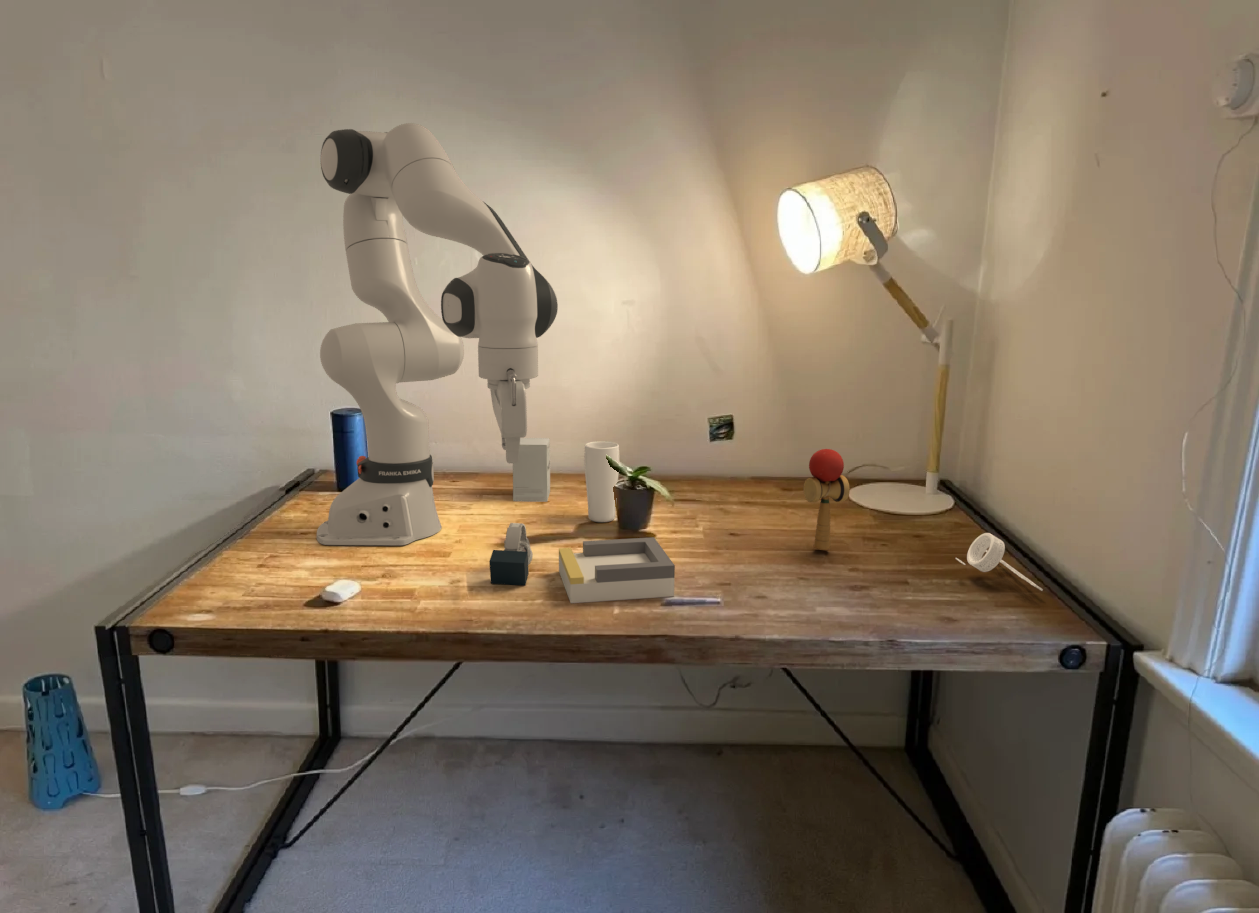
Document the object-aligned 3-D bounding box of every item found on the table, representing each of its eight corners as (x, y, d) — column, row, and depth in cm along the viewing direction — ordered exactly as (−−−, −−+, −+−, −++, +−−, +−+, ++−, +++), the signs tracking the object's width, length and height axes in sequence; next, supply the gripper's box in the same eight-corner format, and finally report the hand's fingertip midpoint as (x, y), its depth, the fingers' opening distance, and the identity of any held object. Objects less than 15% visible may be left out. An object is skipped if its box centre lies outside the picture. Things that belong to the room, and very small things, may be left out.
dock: (570, 603, 137) (570, 571, 136) (558, 571, 151) (558, 542, 150) (674, 596, 141) (674, 565, 139) (653, 565, 154) (654, 537, 153)
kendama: (839, 541, 168) (845, 445, 164) (848, 552, 161) (855, 453, 157) (797, 541, 167) (802, 445, 163) (805, 553, 161) (810, 453, 157)
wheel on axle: (937, 543, 160) (959, 512, 159) (982, 571, 161) (1004, 541, 160) (981, 579, 142) (1006, 544, 141) (1031, 610, 144) (1056, 576, 143)
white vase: (618, 524, 177) (618, 448, 173) (583, 524, 177) (583, 448, 173) (619, 514, 183) (620, 441, 180) (585, 514, 183) (585, 440, 180)
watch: (525, 595, 145) (536, 555, 155) (524, 553, 141) (535, 515, 151) (490, 593, 146) (503, 553, 155) (488, 551, 142) (501, 513, 151)
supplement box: (548, 504, 190) (547, 444, 187) (512, 503, 190) (511, 444, 187) (551, 494, 197) (550, 437, 194) (516, 494, 197) (515, 437, 195)
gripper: (536, 374, 127) (537, 470, 130) (523, 356, 147) (524, 441, 150) (490, 375, 126) (493, 472, 129) (483, 357, 146) (485, 442, 149)
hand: (510, 455), depth 140 cm, fingers open, 8 cm apart
